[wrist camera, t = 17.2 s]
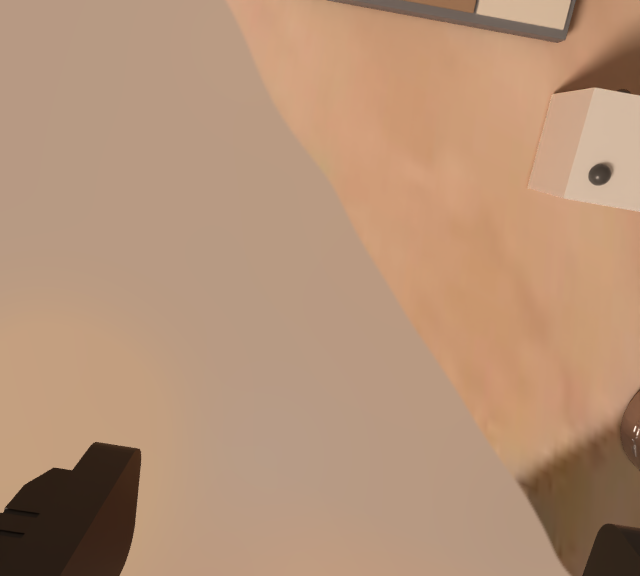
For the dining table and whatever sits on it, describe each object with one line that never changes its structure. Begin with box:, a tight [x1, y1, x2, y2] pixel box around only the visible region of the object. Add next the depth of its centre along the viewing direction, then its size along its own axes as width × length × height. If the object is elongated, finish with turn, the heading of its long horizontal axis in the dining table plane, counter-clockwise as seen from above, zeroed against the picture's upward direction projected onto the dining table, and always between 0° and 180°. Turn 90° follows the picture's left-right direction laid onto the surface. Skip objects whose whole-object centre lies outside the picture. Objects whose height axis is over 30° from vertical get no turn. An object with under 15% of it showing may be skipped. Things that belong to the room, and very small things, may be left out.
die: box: [527, 87, 640, 212], centre depth 34 cm, size 6×7×7 cm
